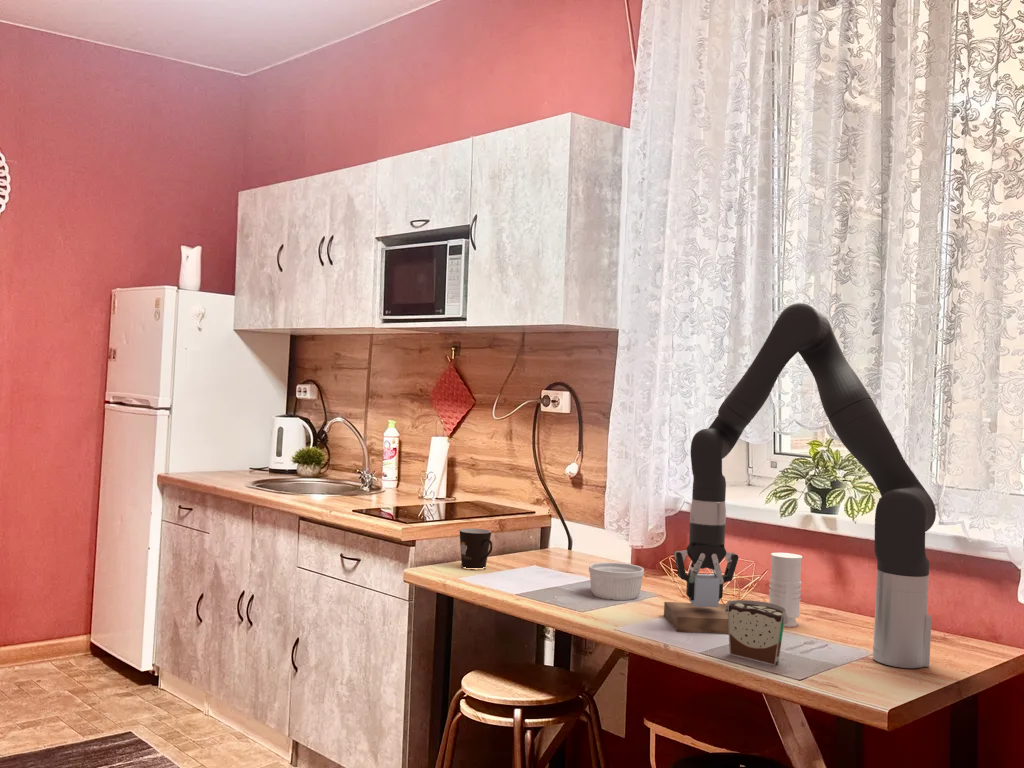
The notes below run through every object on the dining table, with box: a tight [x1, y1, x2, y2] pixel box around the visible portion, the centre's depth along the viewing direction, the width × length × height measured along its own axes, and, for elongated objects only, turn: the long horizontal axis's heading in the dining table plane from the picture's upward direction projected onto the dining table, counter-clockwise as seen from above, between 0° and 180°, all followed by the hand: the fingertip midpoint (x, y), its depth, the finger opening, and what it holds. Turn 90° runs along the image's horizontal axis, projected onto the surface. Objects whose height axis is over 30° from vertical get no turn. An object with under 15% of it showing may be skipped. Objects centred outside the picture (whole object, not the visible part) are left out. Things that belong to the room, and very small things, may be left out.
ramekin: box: [588, 561, 645, 601], centre depth 229 cm, size 13×13×7 cm
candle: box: [768, 552, 803, 628], centre depth 209 cm, size 7×7×15 cm
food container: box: [725, 599, 788, 667], centre depth 180 cm, size 12×6×10 cm, turn 48°
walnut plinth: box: [663, 601, 729, 634], centre depth 204 cm, size 14×14×3 cm
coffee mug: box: [459, 527, 493, 568], centre depth 254 cm, size 12×9×10 cm
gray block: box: [689, 573, 720, 607], centre depth 204 cm, size 5×5×6 cm
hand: (704, 599), depth 204 cm, fingers closed on gray block, 5 cm apart
